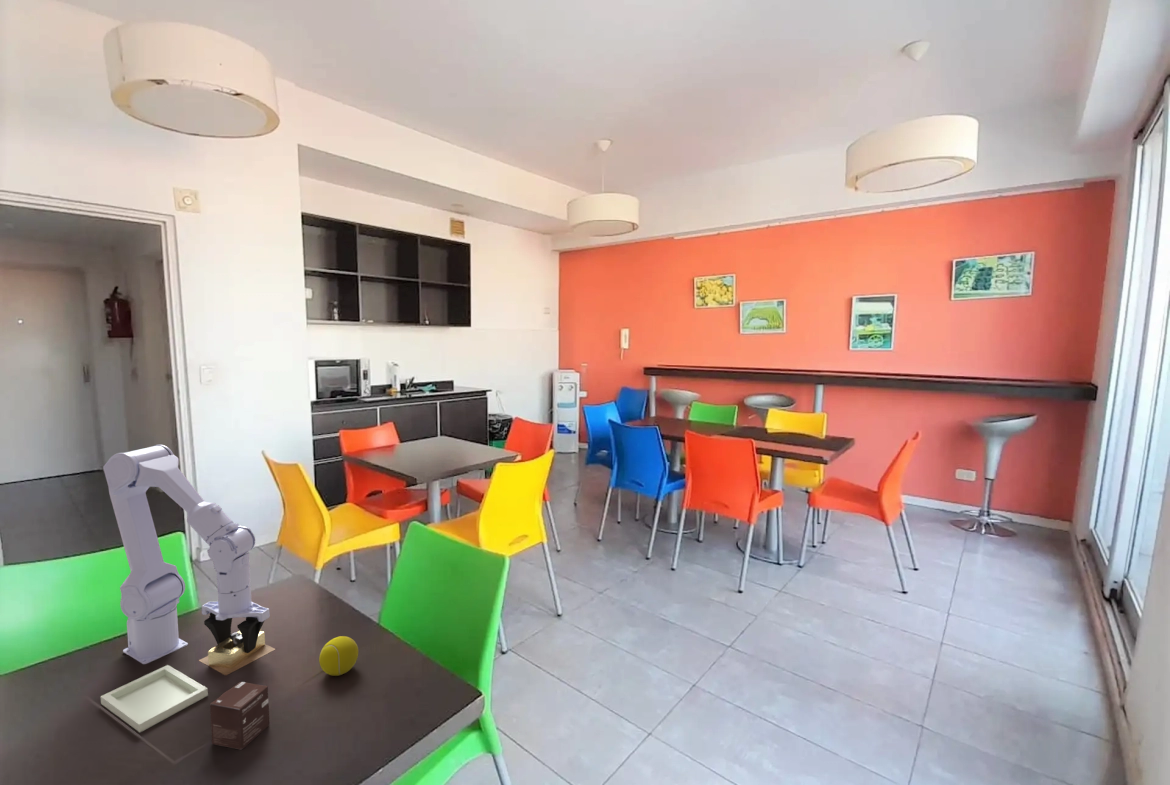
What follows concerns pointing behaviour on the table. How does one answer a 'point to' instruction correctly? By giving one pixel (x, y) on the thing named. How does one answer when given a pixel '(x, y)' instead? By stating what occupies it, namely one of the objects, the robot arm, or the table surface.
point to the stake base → (251, 658)
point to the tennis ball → (338, 655)
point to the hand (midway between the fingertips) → (237, 648)
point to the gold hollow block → (232, 652)
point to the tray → (153, 697)
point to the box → (239, 715)
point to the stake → (236, 638)
